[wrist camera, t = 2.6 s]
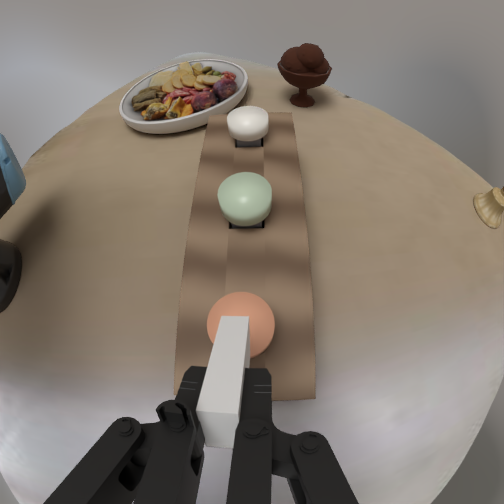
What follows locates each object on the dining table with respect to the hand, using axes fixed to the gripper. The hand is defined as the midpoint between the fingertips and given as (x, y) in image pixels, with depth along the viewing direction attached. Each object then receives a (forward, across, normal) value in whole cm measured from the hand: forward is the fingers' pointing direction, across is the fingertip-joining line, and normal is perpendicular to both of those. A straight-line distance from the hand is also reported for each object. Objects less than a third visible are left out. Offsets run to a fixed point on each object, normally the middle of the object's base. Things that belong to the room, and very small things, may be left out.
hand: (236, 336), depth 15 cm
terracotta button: (+9, 0, -6) cm, 11 cm away
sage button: (+17, 0, +2) cm, 17 cm away
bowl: (+51, -17, +25) cm, 59 cm away
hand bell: (+29, +47, +3) cm, 56 cm away
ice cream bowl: (+49, +10, +23) cm, 55 cm away
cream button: (+26, 0, +11) cm, 28 cm away
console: (+23, 0, -3) cm, 23 cm away
